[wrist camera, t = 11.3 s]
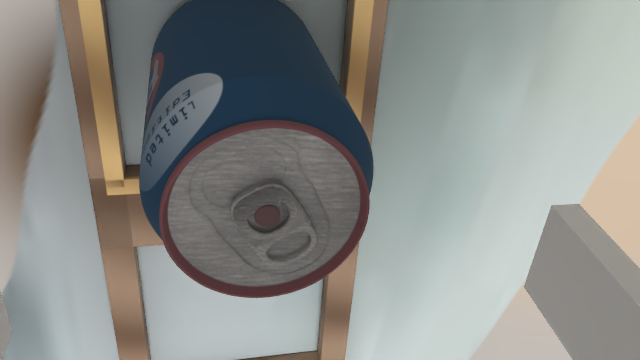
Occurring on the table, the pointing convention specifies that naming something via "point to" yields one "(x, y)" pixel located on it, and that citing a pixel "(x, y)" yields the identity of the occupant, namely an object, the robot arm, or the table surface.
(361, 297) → the table surface
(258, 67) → the soda can
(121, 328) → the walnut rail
